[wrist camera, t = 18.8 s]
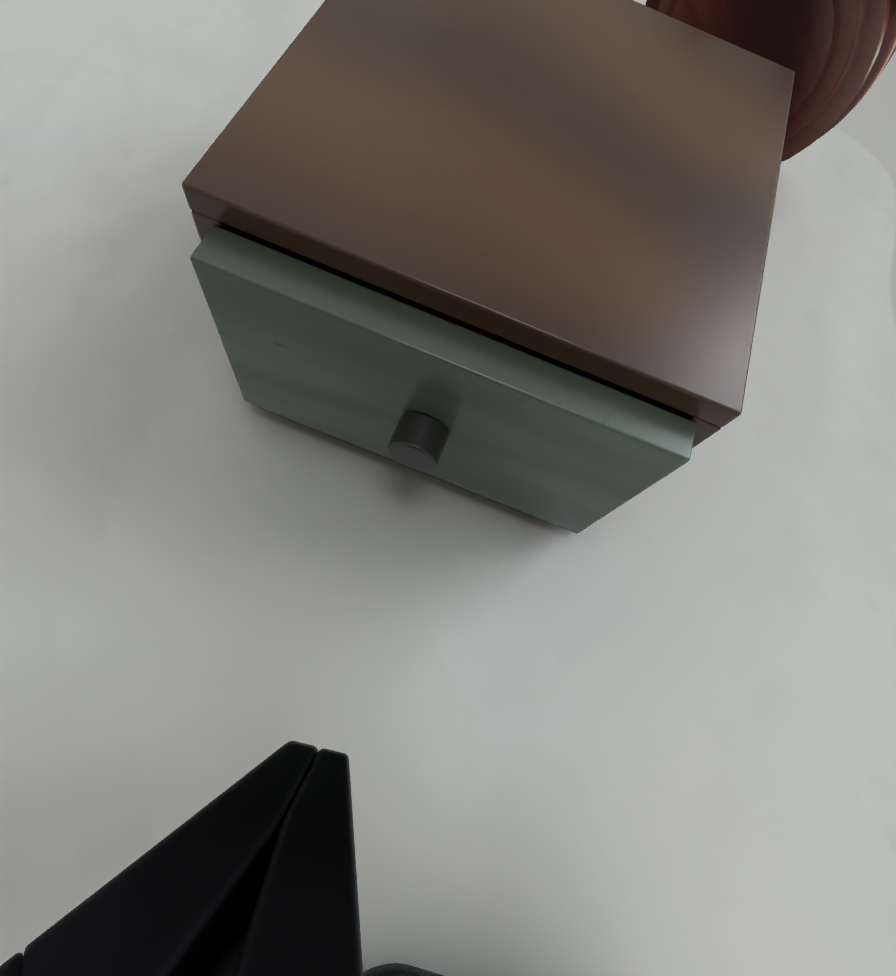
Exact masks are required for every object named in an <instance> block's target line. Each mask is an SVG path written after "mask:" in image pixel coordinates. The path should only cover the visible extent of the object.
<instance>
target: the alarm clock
mask: <svg viewBox="0 0 896 976" xmlns="http://www.w3.org/2000/svg"><path fill="white" fill-rule="evenodd" d="M645 6H647V7H649V8H651V9H654V10H656V11H658V12H660V13H663V14H665V15H667V16H670V17H672V18H674V19H676V20H679V21H681V22H683V23H686V24H688V25H690V26H692V27H695V28H697V29H699V30H702V31H704V32H706V33H708V34H711V35H713V36H715V37H718V38H720V39H722V40H724V41H727V42H729V43H731V44H734V45H736V46H738V47H740V48H743V49H745V50H747V51H749V52H752V53H754V54H756V55H759V56H761V57H763V58H765V59H768V60H770V61H772V62H775V63H777V64H779V65H781V66H784V67H786V68H788V69H791V70H793V71H794V72H795V76H794V82H793V89H792V95H791V101H790V108H789V114H788V120H787V127H786V133H785V139H784V146H783V152H782V158H781V162H782V161H785V160H787V159H789V158H791V157H792V156H794V155H795V154H797V153H798V152H800V151H801V150H803V149H804V148H806V147H807V146H809V145H811V144H812V143H813V142H814V141H815V140H817V139H818V138H820V137H821V136H823V135H824V134H825V133H827V132H828V131H829V130H830V129H832V128H833V127H834V126H835V125H837V124H838V123H839V122H840V121H841V120H842V119H843V118H844V117H845V116H846V115H847V114H848V113H849V112H850V111H851V110H852V109H853V108H854V107H855V106H856V105H857V104H858V102H859V101H860V100H861V99H862V98H863V97H864V95H865V94H866V93H867V92H868V91H869V89H870V88H871V87H872V85H873V84H874V82H875V81H876V79H877V78H878V76H879V75H880V74H881V72H882V71H883V69H884V68H885V66H886V65H887V63H888V62H889V60H890V58H891V57H892V55H893V54H894V52H895V50H896V0H647V1H646V5H645Z"/></svg>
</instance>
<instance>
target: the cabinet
mask: <svg viewBox="0 0 896 976" xmlns="http://www.w3.org/2000/svg"><path fill="white" fill-rule="evenodd" d="M794 76H795V72H794V71H793V70H791V69H788V68H786V67H784V66H781V65H779V64H777V63H775V62H772V61H770V60H768V59H765V58H763V57H761V56H759V55H756V54H754V53H752V52H749V51H747V50H745V49H743V48H740V47H738V46H736V45H734V44H731V43H729V42H727V41H724V40H722V39H720V38H718V37H715V36H713V35H711V34H708V33H706V32H704V31H702V30H699V29H697V28H695V27H692V26H690V25H688V24H686V23H683V22H681V21H679V20H676V19H674V18H672V17H670V16H667V15H665V14H663V13H660V12H658V11H656V10H654V9H651V8H649V7H647V6H645V5H642V4H640V3H638V2H635V1H633V0H325V2H324V3H323V4H322V5H321V7H320V8H319V9H318V10H317V12H316V13H315V14H314V16H313V17H312V18H311V19H310V21H309V22H308V23H307V24H306V26H305V27H304V28H303V30H302V31H301V32H300V33H299V35H298V36H297V37H296V38H295V40H294V41H293V42H292V44H291V45H290V46H289V47H288V49H287V50H286V51H285V52H284V54H283V55H282V56H281V58H280V59H279V60H278V61H277V63H276V64H275V65H274V66H273V68H272V69H271V70H270V72H269V73H268V74H267V75H266V77H265V78H264V79H263V80H262V82H261V83H260V84H259V86H258V87H257V88H256V89H255V91H254V92H253V93H252V94H251V96H250V97H249V98H248V100H247V101H246V102H245V103H244V105H243V106H242V107H241V108H240V110H239V111H238V112H237V114H236V115H235V116H234V117H233V119H232V120H231V121H230V122H229V124H228V125H227V126H226V128H225V129H224V130H223V131H222V133H221V134H220V135H219V136H218V138H217V139H216V140H215V142H214V143H213V144H212V145H211V147H210V148H209V149H208V150H207V152H206V153H205V154H204V156H203V157H202V158H201V159H200V161H199V162H198V163H197V164H196V166H195V167H194V168H193V170H192V171H191V172H190V173H189V175H188V176H187V177H186V178H185V180H184V181H183V183H182V187H183V190H184V193H185V196H186V199H187V202H188V205H189V207H190V209H191V210H192V216H193V219H194V222H195V225H196V228H197V231H198V233H199V236H200V239H201V241H202V240H203V238H204V237H205V236H206V234H207V233H208V231H209V230H210V229H211V227H212V226H217V227H220V228H222V229H225V230H227V231H229V232H232V233H234V234H237V235H239V236H242V237H244V238H247V239H249V240H251V241H254V242H256V243H259V244H261V245H264V246H266V247H268V248H271V249H273V246H272V243H273V244H275V245H278V246H280V247H283V248H285V249H288V250H290V251H292V252H295V253H297V254H300V255H302V256H305V257H307V258H310V259H312V260H314V261H317V262H319V263H322V264H324V265H327V266H329V267H331V268H334V269H336V270H339V271H341V272H344V273H346V274H348V275H351V276H353V277H356V278H358V279H361V280H363V281H366V282H368V283H370V284H373V285H375V286H378V287H380V288H383V289H385V290H387V291H390V292H392V293H395V294H397V295H400V296H402V297H405V298H407V299H409V300H412V301H414V302H417V303H419V304H422V305H424V306H426V307H429V308H431V309H434V310H436V311H439V312H441V313H443V314H446V315H448V316H451V317H453V318H456V319H458V320H461V321H463V322H465V323H468V324H470V325H473V326H475V327H478V328H480V329H482V330H485V331H487V332H490V333H492V334H495V335H497V336H500V337H502V338H504V339H507V340H509V341H512V342H514V343H517V344H519V345H521V346H524V347H526V348H529V349H531V350H534V351H536V352H538V353H541V354H543V355H546V356H548V357H551V358H553V359H556V360H558V361H560V362H563V363H565V364H568V365H570V366H573V367H575V368H577V369H580V370H582V371H585V372H587V373H590V374H592V375H595V376H597V377H599V378H602V379H604V380H607V381H609V382H612V383H614V384H616V385H619V386H621V387H624V388H626V389H629V390H631V391H633V392H636V393H638V394H641V395H643V396H646V397H648V398H651V399H652V400H651V401H650V402H649V404H651V405H654V406H656V407H659V408H661V409H663V410H666V411H668V412H671V413H673V414H676V415H678V416H681V417H683V418H685V419H688V420H690V421H693V422H695V423H696V429H695V434H694V440H693V445H692V448H693V447H695V446H696V445H698V444H699V443H701V442H702V441H704V440H705V439H706V438H708V437H709V436H711V435H712V434H714V433H715V432H717V431H718V430H720V428H721V427H723V426H725V425H726V424H728V423H729V422H730V421H732V420H733V419H735V418H736V417H738V416H739V415H740V414H741V411H742V405H743V399H744V392H745V386H746V380H747V373H748V367H749V361H750V354H751V348H752V342H753V335H754V329H755V323H756V316H757V310H758V304H759V297H760V291H761V285H762V278H763V272H764V266H765V259H766V253H767V247H768V240H769V234H770V228H771V221H772V215H773V209H774V202H775V196H776V190H777V183H778V177H779V171H780V165H781V158H782V152H783V146H784V139H785V133H786V127H787V120H788V114H789V108H790V101H791V95H792V89H793V82H794Z"/></svg>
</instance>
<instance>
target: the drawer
mask: <svg viewBox="0 0 896 976" xmlns="http://www.w3.org/2000/svg"><path fill="white" fill-rule="evenodd" d="M272 246H273V249H271V248H268V247H266V246H264V245H261V244H259V243H256V242H254V241H251V240H249V239H247V238H244V237H242V236H239V235H237V234H234V233H232V232H229V231H227V230H225V229H222V228H220V227H217V226H212V227H211V229H210V230H209V231H208V233H207V234H206V236H205V237H204V238H203V240H202V241H201V243H200V244H199V245H198V247H197V248H196V249H195V251H194V252H193V254H192V255H191V261H192V264H193V267H194V269H195V272H196V275H197V277H198V280H199V282H200V285H201V288H202V290H203V293H204V296H205V298H206V301H207V303H208V306H209V309H210V311H211V314H212V317H213V319H214V322H215V324H216V327H217V330H218V332H219V335H220V337H221V340H222V343H223V345H224V348H225V351H226V353H227V356H228V358H229V361H230V364H231V366H232V369H233V372H234V374H235V377H236V379H237V382H238V385H239V387H240V390H241V393H242V395H243V398H244V400H245V401H246V402H249V403H251V404H254V405H256V406H259V407H261V408H264V409H266V410H269V411H271V412H274V413H276V414H279V415H281V416H284V417H286V418H289V419H291V420H294V421H296V422H299V423H301V424H304V425H306V426H309V427H311V428H314V429H316V430H319V431H321V432H324V433H326V434H329V435H331V436H334V437H336V438H339V439H341V440H344V441H346V442H349V443H351V444H354V445H356V446H359V447H361V448H364V449H366V450H369V451H371V452H374V453H376V454H379V455H381V456H384V457H386V458H389V459H391V460H394V461H396V462H399V463H401V464H403V465H405V466H407V467H410V468H413V469H416V470H419V471H422V472H424V473H427V474H429V475H432V476H434V477H437V478H439V479H442V480H444V481H447V482H449V483H452V484H454V485H457V486H459V487H462V488H464V489H467V490H469V491H472V492H474V493H477V494H479V495H482V496H484V497H487V498H489V499H492V500H494V501H497V502H499V503H502V504H504V505H507V506H509V507H512V508H514V509H517V510H519V511H522V512H524V513H527V514H529V515H532V516H534V517H537V518H539V519H542V520H544V521H547V522H549V523H552V524H554V525H557V526H559V527H562V528H564V529H567V530H569V531H572V532H574V533H579V532H580V531H582V530H583V529H585V528H587V527H588V526H590V525H591V524H593V523H594V522H596V521H597V520H599V519H600V518H602V517H603V516H605V515H607V514H608V513H610V512H611V511H613V510H614V509H616V508H617V507H619V506H620V505H622V504H624V503H625V502H627V501H628V500H630V499H631V498H633V497H634V496H636V495H637V494H639V493H640V492H642V491H644V490H645V489H647V488H648V487H650V486H651V485H653V484H654V483H656V482H657V481H659V480H660V479H662V478H664V477H665V476H667V475H668V474H670V473H671V472H673V471H674V470H676V469H677V468H679V467H680V466H682V465H684V464H685V463H687V462H688V461H689V460H690V455H691V450H692V445H693V440H694V434H695V429H696V423H695V422H693V421H690V420H688V419H685V418H683V417H681V416H678V415H676V414H673V413H671V412H668V411H666V410H663V409H661V408H659V407H656V406H654V405H651V404H649V402H650V401H651V400H652V399H651V398H648V397H646V396H643V395H641V394H638V393H636V392H633V391H631V390H629V389H626V388H624V387H621V386H619V385H616V384H614V383H612V382H609V381H607V380H604V379H602V378H599V377H597V376H595V375H592V374H590V373H587V372H585V371H582V370H580V369H577V368H575V367H573V366H570V365H568V364H565V363H563V362H560V361H558V360H556V359H553V358H551V357H548V356H546V355H543V354H541V353H538V352H536V351H534V350H531V349H529V348H526V347H524V346H521V348H520V350H517V349H515V348H512V347H510V346H507V345H505V344H503V343H500V342H498V341H495V340H493V339H490V338H488V337H485V336H483V335H481V334H478V333H476V332H473V331H471V330H468V329H466V328H464V327H461V326H459V325H456V324H454V323H451V322H449V321H446V320H444V319H442V318H439V317H437V316H434V315H432V314H429V313H427V312H425V311H422V310H420V309H417V308H415V307H414V305H415V302H414V301H412V300H409V299H407V298H405V297H402V296H400V295H397V294H395V293H392V292H390V291H387V290H385V289H383V288H380V287H378V286H375V285H373V284H370V283H368V282H366V281H363V280H361V279H358V278H356V277H353V276H351V275H348V274H346V273H344V272H341V271H339V270H336V269H334V268H331V267H329V266H327V265H324V264H322V263H319V262H317V261H314V260H312V259H310V258H307V257H305V256H302V255H300V254H297V253H295V252H292V251H290V250H288V249H285V248H283V247H280V246H278V245H275V244H273V243H272Z"/></svg>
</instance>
